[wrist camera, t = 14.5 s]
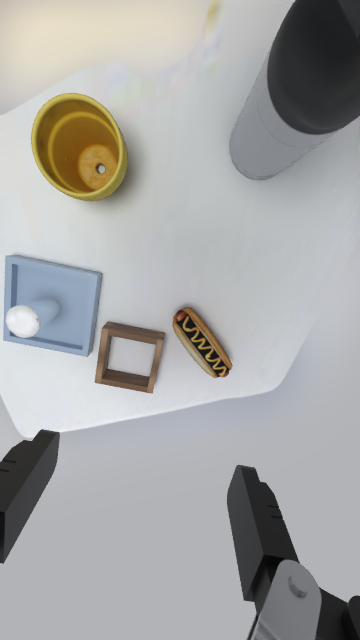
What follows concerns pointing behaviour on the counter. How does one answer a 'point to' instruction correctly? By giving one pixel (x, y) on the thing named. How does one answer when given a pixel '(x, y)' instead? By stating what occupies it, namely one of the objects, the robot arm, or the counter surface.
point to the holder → (124, 378)
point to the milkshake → (31, 317)
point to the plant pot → (79, 147)
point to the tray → (67, 289)
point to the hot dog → (201, 343)
